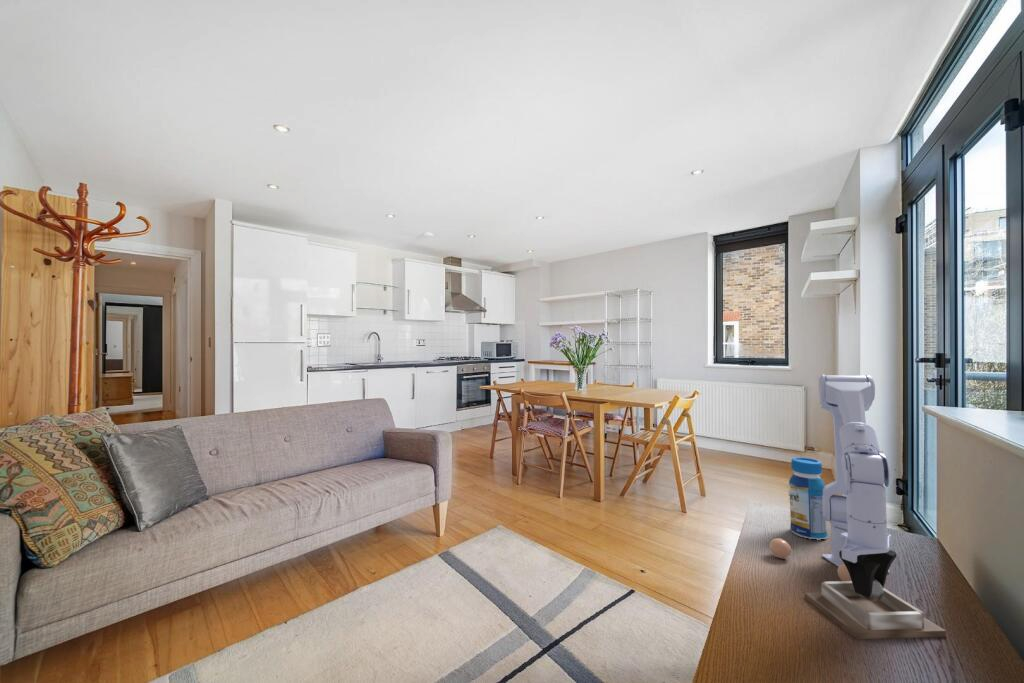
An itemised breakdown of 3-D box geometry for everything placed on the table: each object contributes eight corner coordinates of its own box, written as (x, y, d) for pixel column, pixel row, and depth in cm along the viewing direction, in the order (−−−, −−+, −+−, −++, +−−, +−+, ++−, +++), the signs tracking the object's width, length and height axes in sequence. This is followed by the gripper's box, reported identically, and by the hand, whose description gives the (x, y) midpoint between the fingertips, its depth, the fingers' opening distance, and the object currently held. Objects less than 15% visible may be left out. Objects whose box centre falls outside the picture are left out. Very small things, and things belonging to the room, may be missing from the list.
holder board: (882, 595, 83) (881, 578, 83) (946, 636, 71) (945, 616, 71) (804, 597, 83) (804, 580, 83) (855, 639, 71) (854, 618, 71)
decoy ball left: (852, 579, 89) (851, 558, 89) (870, 590, 85) (869, 569, 85) (832, 579, 89) (831, 559, 89) (849, 591, 85) (848, 569, 85)
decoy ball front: (783, 552, 101) (782, 534, 101) (795, 562, 97) (795, 543, 97) (765, 553, 101) (765, 535, 101) (777, 562, 96) (776, 543, 97)
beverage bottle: (830, 544, 105) (827, 465, 106) (790, 536, 110) (788, 461, 110) (826, 531, 112) (823, 458, 113) (789, 525, 117) (786, 454, 117)
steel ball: (858, 591, 80) (858, 568, 80) (887, 603, 76) (887, 578, 76) (848, 596, 78) (848, 572, 78) (877, 608, 74) (878, 582, 74)
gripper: (859, 503, 84) (862, 570, 84) (821, 517, 78) (824, 590, 77) (904, 515, 78) (907, 588, 78) (867, 531, 71) (870, 611, 71)
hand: (869, 590), depth 77 cm, fingers closed on steel ball, 4 cm apart
